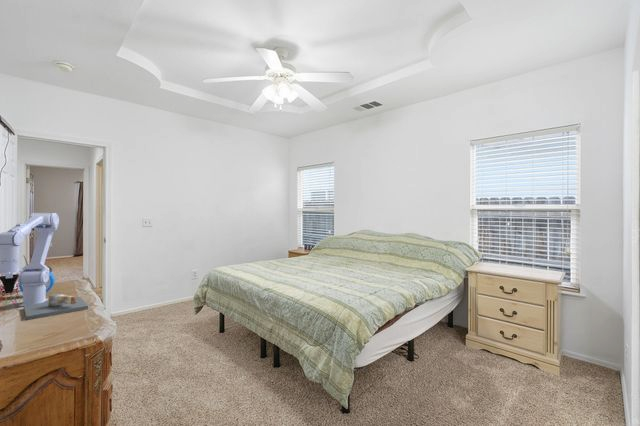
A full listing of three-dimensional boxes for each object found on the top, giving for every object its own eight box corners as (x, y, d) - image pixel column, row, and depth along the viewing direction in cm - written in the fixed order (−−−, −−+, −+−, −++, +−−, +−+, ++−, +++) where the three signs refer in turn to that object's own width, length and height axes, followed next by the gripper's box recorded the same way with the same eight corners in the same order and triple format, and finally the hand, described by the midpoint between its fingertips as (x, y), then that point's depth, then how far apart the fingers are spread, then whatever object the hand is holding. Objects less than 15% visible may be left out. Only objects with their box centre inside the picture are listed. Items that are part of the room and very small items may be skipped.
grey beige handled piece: (45, 306, 134) (45, 296, 134) (57, 302, 139) (57, 293, 139) (69, 308, 131) (69, 298, 131) (80, 305, 136) (80, 295, 136)
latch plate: (23, 308, 135) (23, 305, 135) (80, 299, 150) (80, 296, 150) (26, 320, 122) (26, 316, 122) (87, 309, 136) (87, 305, 136)
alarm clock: (18, 298, 151) (18, 268, 151) (21, 295, 156) (21, 266, 156) (53, 294, 158) (53, 266, 158) (54, 292, 164) (55, 264, 164)
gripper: (23, 261, 125) (22, 294, 125) (22, 257, 135) (21, 287, 135) (-2, 263, 120) (-3, 297, 120) (-1, 259, 130) (-2, 290, 130)
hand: (9, 292), depth 127 cm, fingers closed
